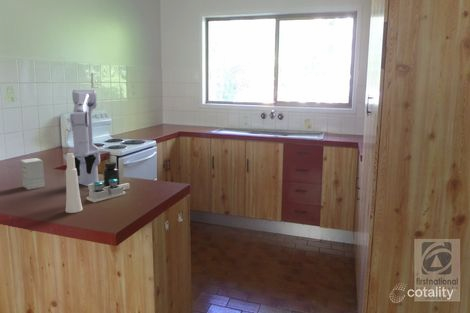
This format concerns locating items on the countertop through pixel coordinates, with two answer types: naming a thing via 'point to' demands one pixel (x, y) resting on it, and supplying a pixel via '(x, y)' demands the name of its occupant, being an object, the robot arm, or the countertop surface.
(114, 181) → the plunger inner
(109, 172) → the supplement bottle
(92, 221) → the countertop surface
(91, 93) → the robot arm
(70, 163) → the cosmetic bottle
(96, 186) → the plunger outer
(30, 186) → the supplement box
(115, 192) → the white knob panel
